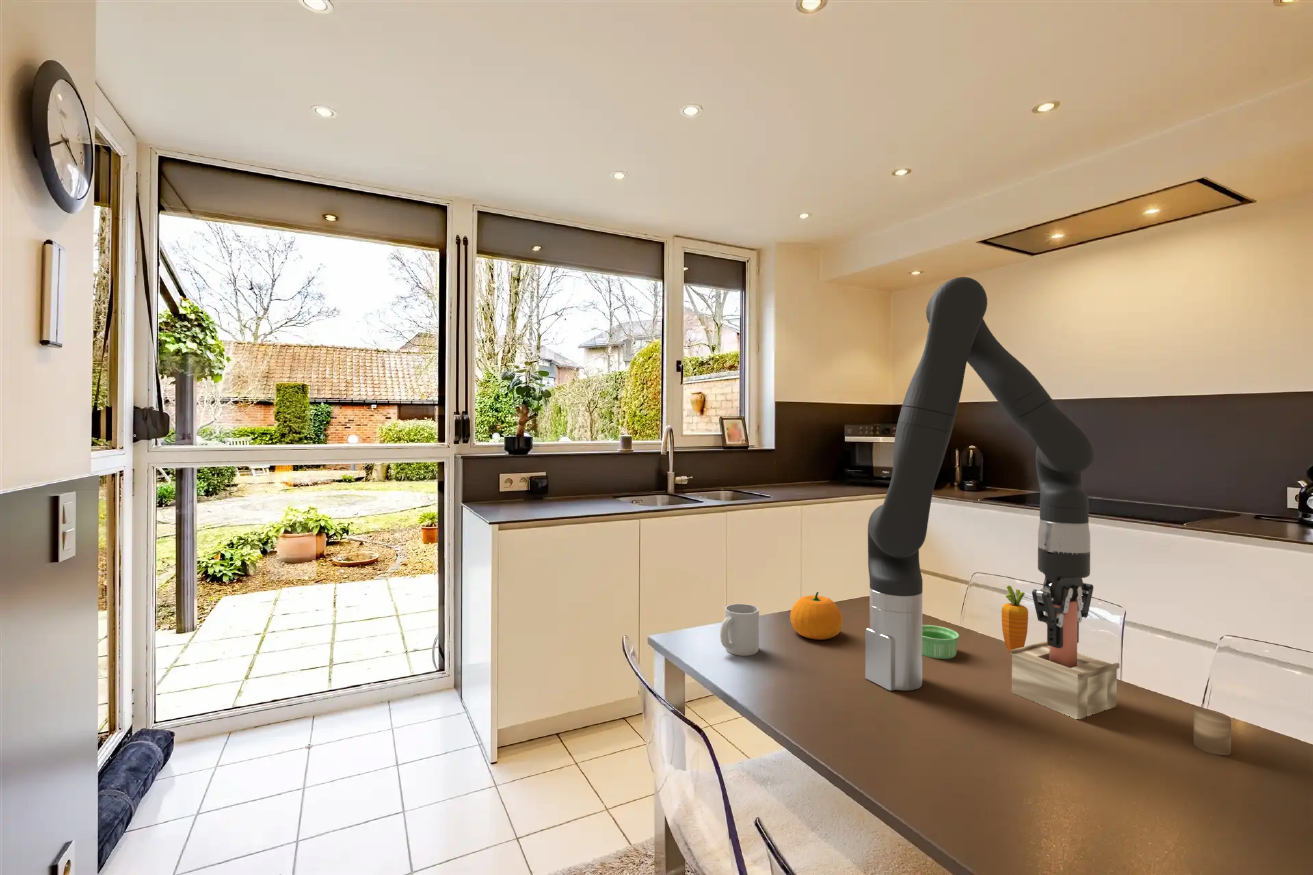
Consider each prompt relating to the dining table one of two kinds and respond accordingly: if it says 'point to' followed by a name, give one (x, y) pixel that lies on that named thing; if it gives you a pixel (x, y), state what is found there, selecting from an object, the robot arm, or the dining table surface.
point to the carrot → (1014, 620)
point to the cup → (740, 629)
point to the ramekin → (939, 642)
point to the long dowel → (1067, 639)
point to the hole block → (1064, 682)
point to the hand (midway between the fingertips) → (1062, 643)
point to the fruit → (816, 617)
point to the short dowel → (1212, 731)
